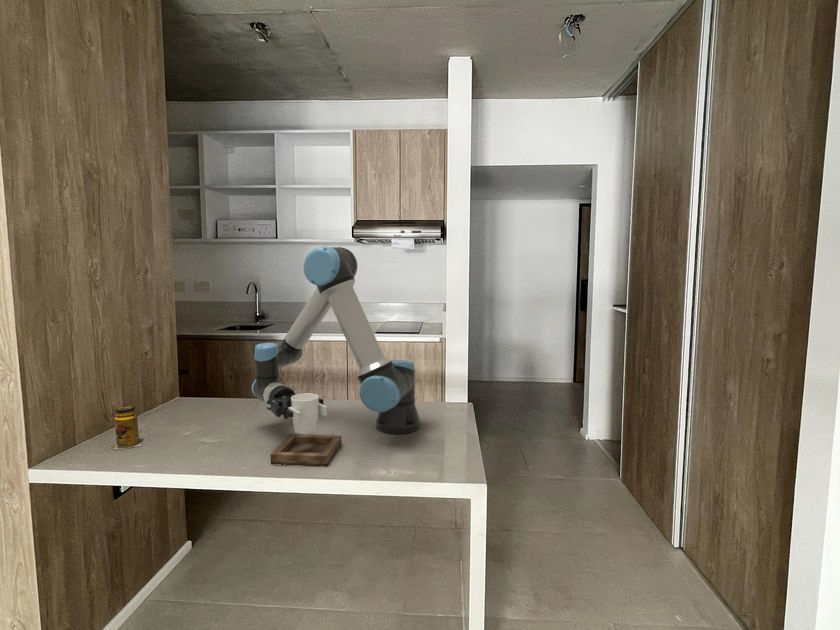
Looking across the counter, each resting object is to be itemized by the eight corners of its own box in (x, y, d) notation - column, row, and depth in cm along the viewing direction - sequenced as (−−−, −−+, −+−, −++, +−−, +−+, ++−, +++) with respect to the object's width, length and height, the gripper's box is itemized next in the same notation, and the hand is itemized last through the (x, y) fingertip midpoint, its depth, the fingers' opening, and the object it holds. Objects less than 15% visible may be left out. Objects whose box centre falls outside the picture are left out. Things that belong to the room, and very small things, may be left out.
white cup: (324, 427, 145) (323, 394, 144) (310, 436, 138) (309, 401, 137) (301, 424, 148) (300, 392, 147) (286, 433, 141) (285, 399, 139)
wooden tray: (341, 445, 151) (341, 435, 150) (326, 466, 135) (326, 456, 135) (291, 443, 152) (290, 434, 152) (270, 464, 137) (270, 454, 136)
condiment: (113, 450, 148) (110, 412, 147) (118, 441, 156) (115, 404, 155) (140, 446, 151) (137, 409, 150) (144, 437, 159) (141, 401, 157)
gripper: (309, 402, 163) (344, 419, 145) (248, 414, 150) (279, 435, 133) (308, 380, 162) (344, 395, 145) (247, 390, 149) (278, 408, 132)
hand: (313, 414), depth 139 cm, fingers closed on white cup, 7 cm apart
